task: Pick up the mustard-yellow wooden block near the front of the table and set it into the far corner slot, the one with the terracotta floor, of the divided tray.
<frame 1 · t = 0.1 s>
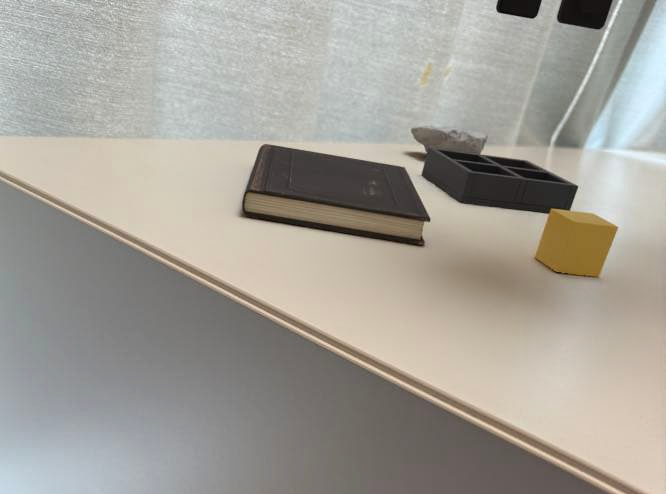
hand: (545, 20, 54), 17 cm above the table, tool pointing down, fingers open, 9 cm apart
hardcover book: (330, 203, 77), on the table
fossil: (443, 162, 107), on the table
block: (566, 267, 69), on the table
divided tray: (491, 194, 92), on the table
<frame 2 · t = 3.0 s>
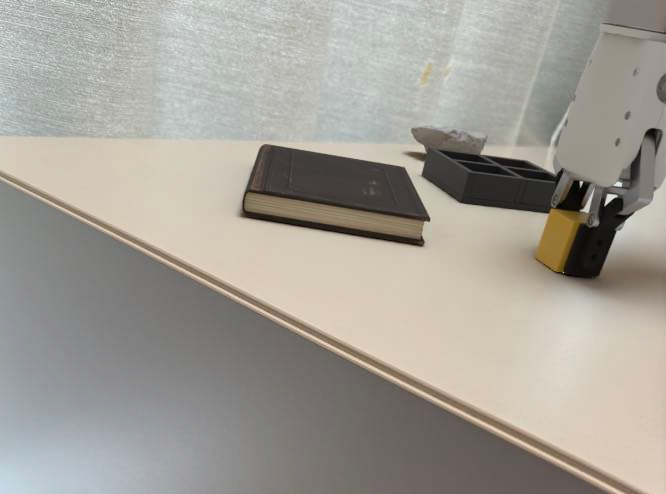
hand: (567, 263, 69), 0 cm above the table, tool pointing down, fingers closed on block, 4 cm apart
block: (566, 267, 69), on the table, touching gripper
everything else where it was.
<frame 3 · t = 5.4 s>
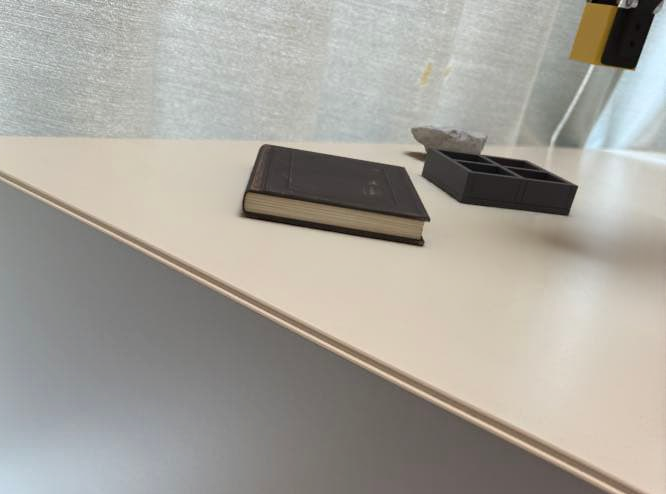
hand: (602, 60, 69), 15 cm above the table, tool pointing down, fingers closed on block, 4 cm apart
block: (601, 64, 69), point 15 cm above the table, touching gripper
everything else where it was.
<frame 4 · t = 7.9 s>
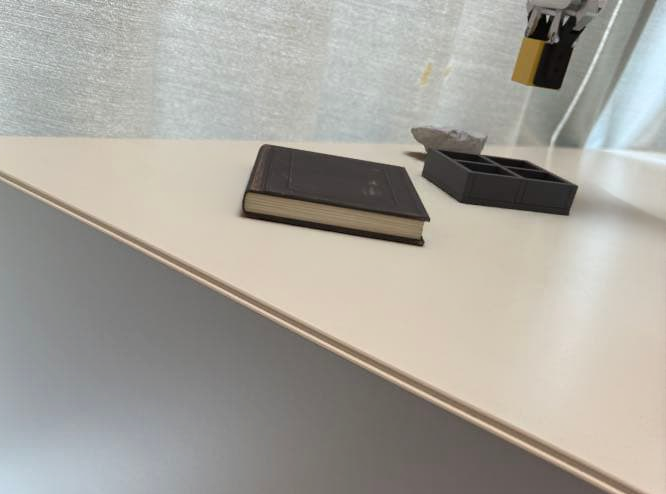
hand: (536, 82, 88), 12 cm above the table, tool pointing down, fingers closed on block, 4 cm apart
block: (535, 85, 88), point 11 cm above the table, touching gripper
everything else where it was.
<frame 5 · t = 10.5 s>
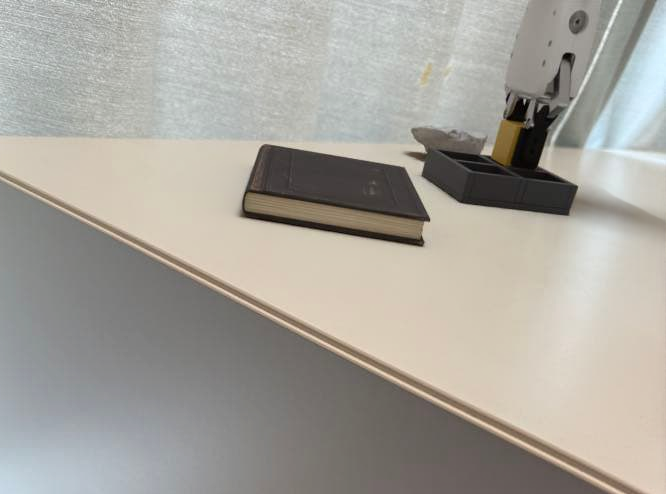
hand: (514, 161, 93), 3 cm above the table, tool pointing down, fingers closed on block, 4 cm apart
block: (513, 163, 93), point 3 cm above the table, touching gripper
everything else where it was.
when the fingers open (3 cm above the table, at t = 13.0 s): block drops 2 cm, resting on divided tray.
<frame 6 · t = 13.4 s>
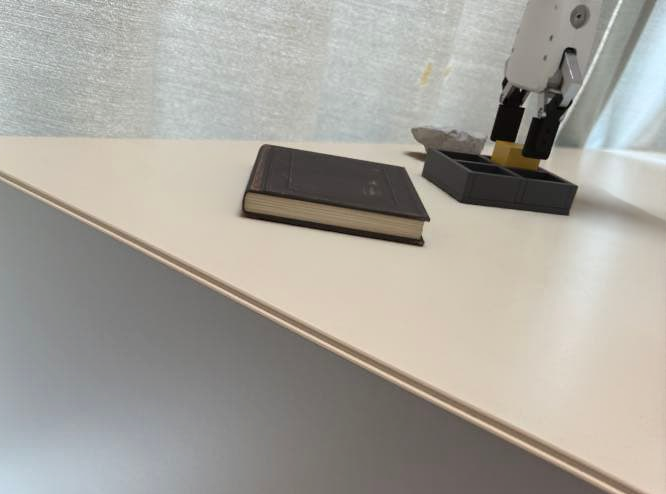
hand: (517, 149, 92), 5 cm above the table, tool pointing down, fingers open, 8 cm apart
block: (507, 183, 94), point 1 cm above the table, touching divided tray
everything else where it was.
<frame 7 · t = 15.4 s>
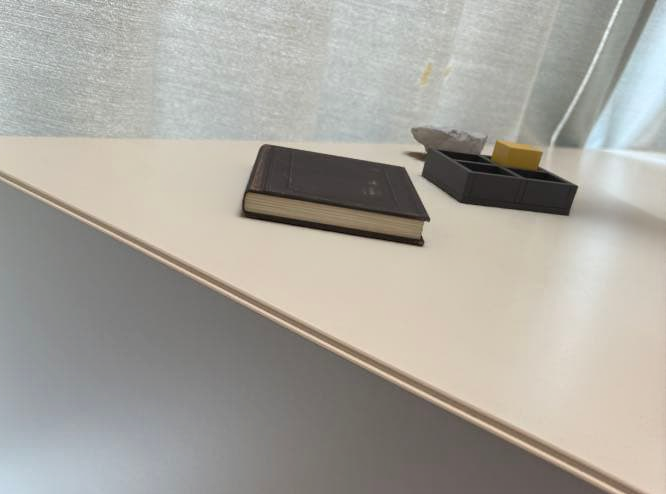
nothing on the table moved.
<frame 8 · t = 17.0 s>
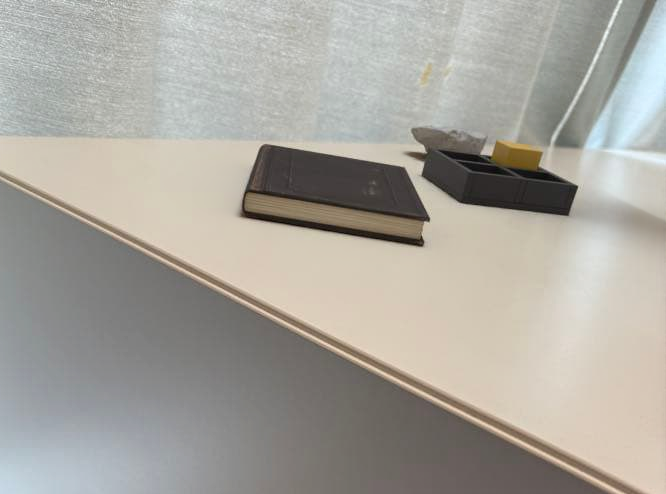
nothing on the table moved.
at the end: block 0.1 cm from the target spot in the divided tray, point 0.8 cm above the divided tray's base; block tilted 0°; the gripper is holding nothing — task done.
